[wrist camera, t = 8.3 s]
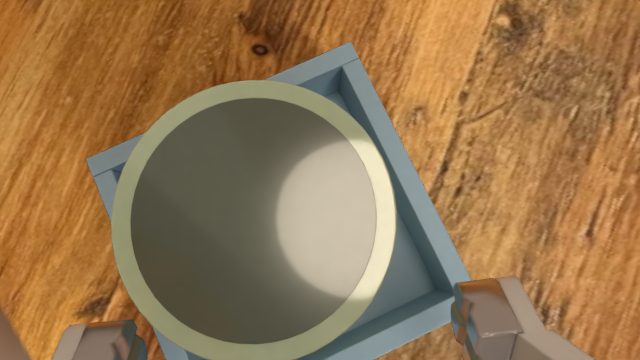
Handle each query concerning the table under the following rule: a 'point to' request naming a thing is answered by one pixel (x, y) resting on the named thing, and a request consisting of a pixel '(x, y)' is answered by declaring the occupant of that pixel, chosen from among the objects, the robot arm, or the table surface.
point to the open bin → (412, 221)
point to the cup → (254, 222)
